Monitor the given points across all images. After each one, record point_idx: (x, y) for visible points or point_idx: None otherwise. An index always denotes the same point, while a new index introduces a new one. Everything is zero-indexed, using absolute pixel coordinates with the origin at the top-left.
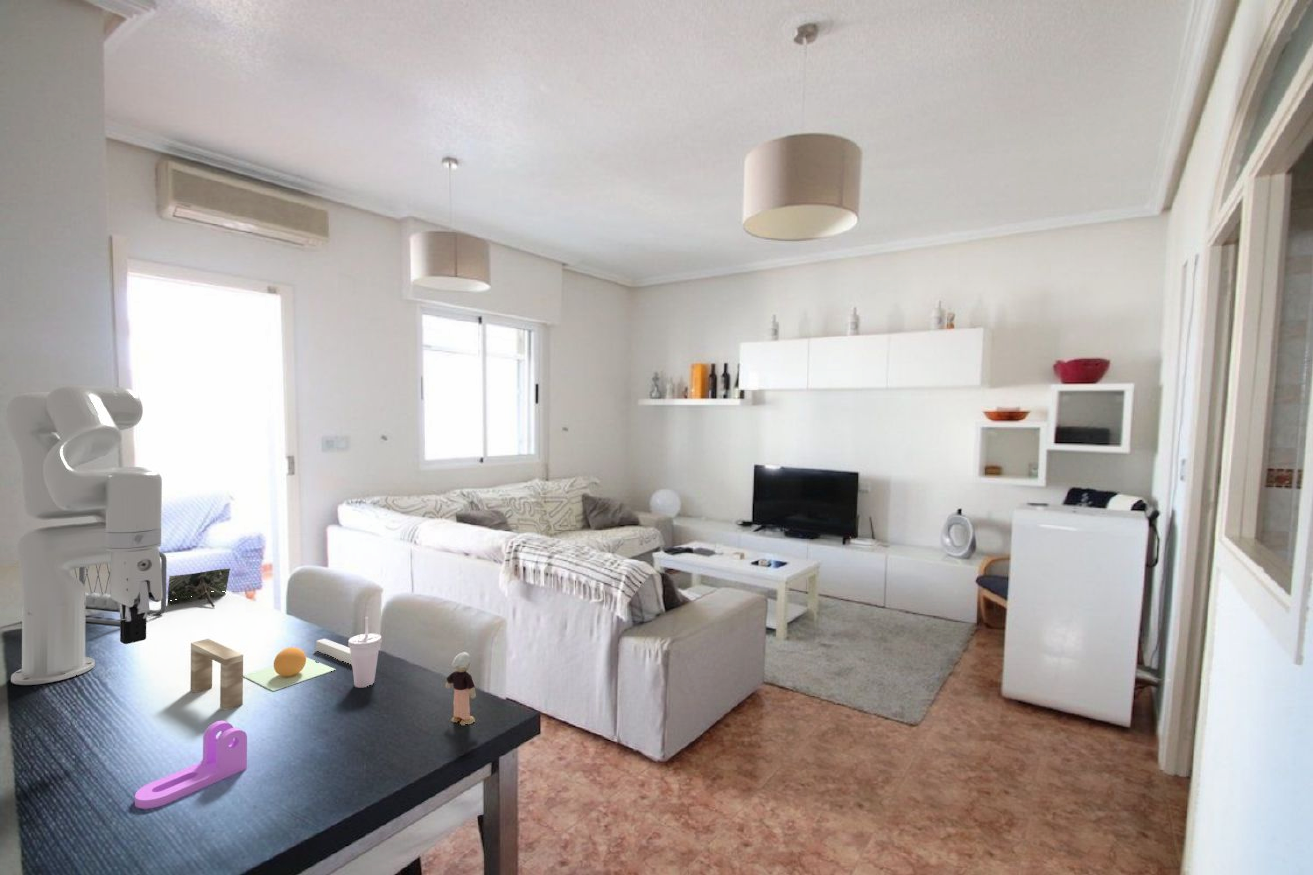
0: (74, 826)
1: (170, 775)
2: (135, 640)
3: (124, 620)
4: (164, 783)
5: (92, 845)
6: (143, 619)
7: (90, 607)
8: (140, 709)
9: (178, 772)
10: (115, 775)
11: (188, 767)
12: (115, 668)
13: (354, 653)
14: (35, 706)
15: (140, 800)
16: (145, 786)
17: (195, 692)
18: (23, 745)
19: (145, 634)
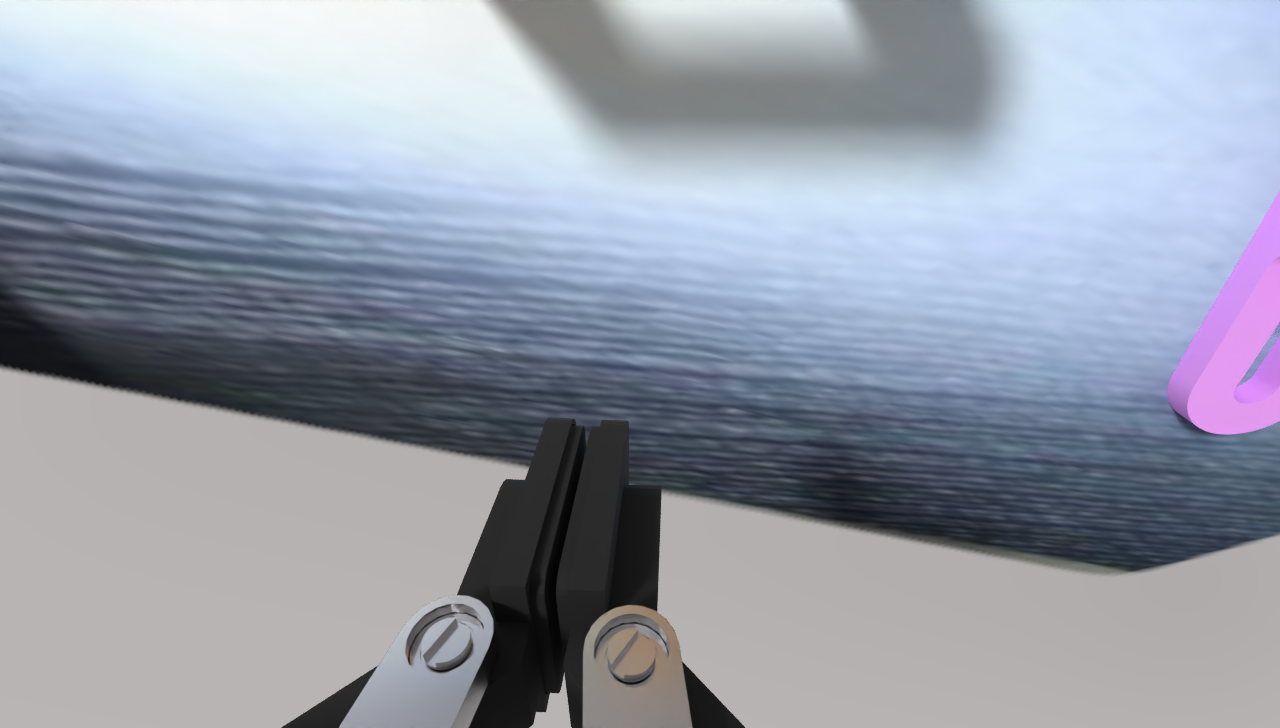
0: (1117, 504)
1: (1223, 344)
2: (628, 480)
3: (539, 696)
4: (1246, 371)
5: (1240, 508)
6: (607, 594)
7: None
8: (507, 178)
9: (1238, 325)
10: (973, 393)
11: (1251, 296)
12: None
13: None
14: (223, 368)
15: (1244, 430)
16: (1196, 403)
17: None
18: None
19: (625, 447)
